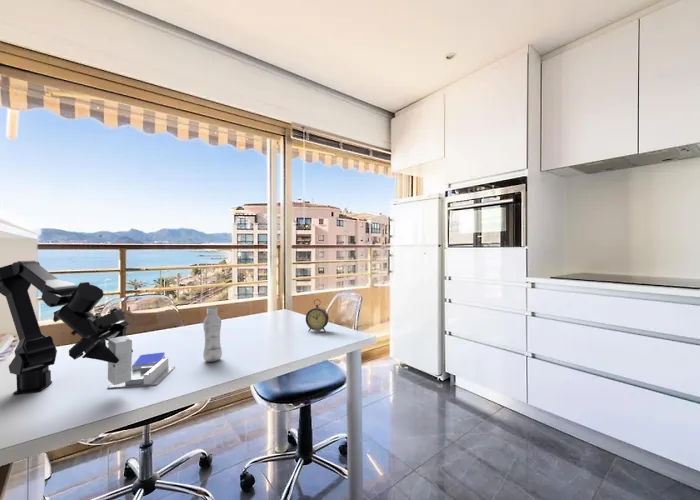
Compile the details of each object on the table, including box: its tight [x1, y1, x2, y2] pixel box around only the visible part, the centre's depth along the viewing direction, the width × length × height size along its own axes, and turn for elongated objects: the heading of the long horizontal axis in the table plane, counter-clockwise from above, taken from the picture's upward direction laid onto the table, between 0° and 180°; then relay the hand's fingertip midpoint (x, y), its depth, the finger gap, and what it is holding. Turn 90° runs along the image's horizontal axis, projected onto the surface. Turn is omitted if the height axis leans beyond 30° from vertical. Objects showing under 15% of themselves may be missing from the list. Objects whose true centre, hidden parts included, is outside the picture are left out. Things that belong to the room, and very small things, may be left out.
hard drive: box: [131, 352, 166, 370], centre depth 114 cm, size 2×8×12 cm
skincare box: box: [107, 336, 133, 385], centre depth 90 cm, size 6×4×12 cm
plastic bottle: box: [202, 306, 223, 363], centre depth 116 cm, size 6×7×20 cm
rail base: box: [107, 357, 176, 390], centre depth 102 cm, size 14×14×4 cm
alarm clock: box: [305, 298, 329, 333], centre depth 154 cm, size 11×5×16 cm, turn 81°
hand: (125, 357), depth 90 cm, fingers closed on skincare box, 7 cm apart
